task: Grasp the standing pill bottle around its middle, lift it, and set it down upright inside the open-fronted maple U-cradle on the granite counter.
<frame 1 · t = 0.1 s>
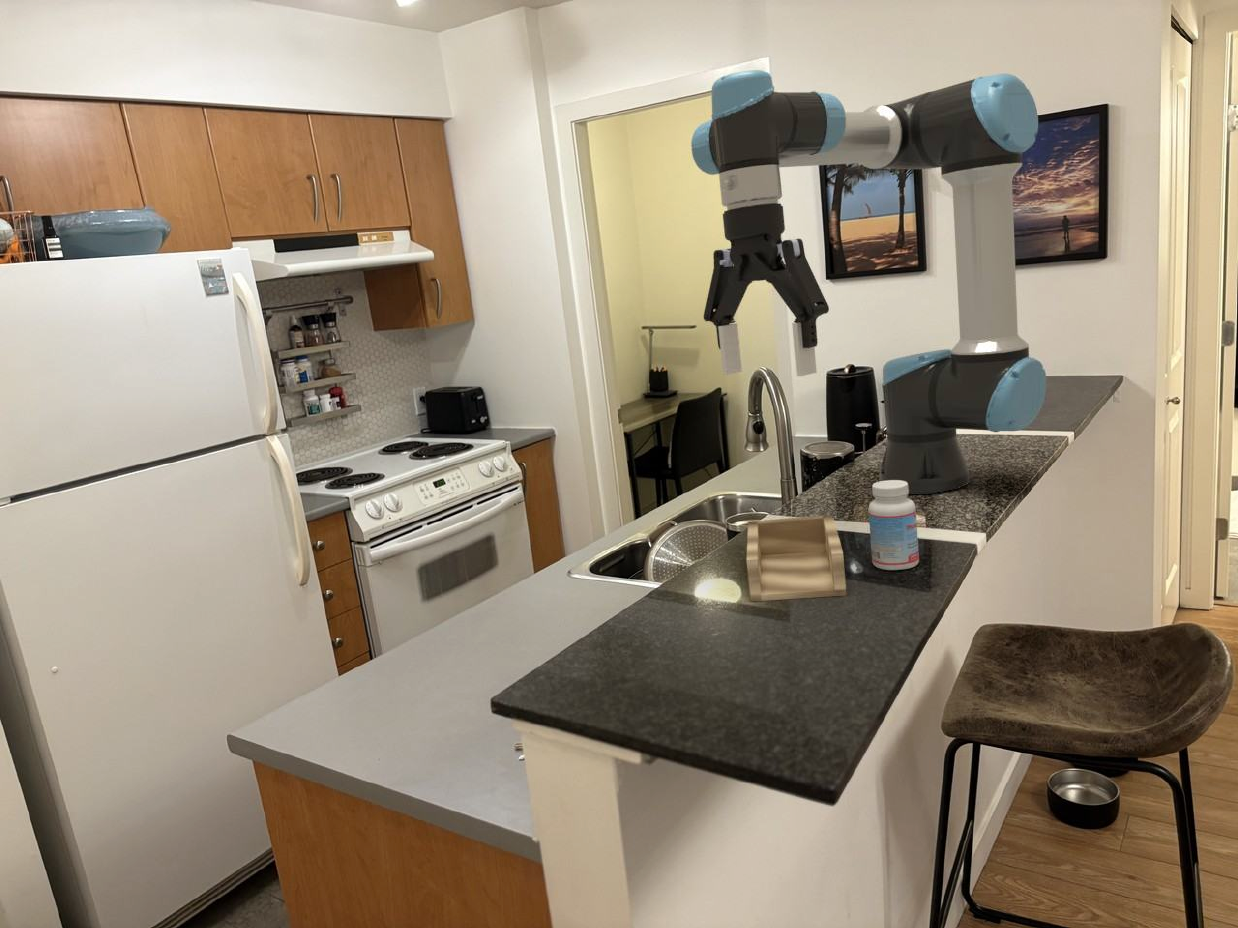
hand: (767, 374, 119), 28 cm above the countertop, fingers open, 13 cm apart
cradle: (796, 579, 124), on the countertop
pill bottle: (895, 565, 125), on the countertop
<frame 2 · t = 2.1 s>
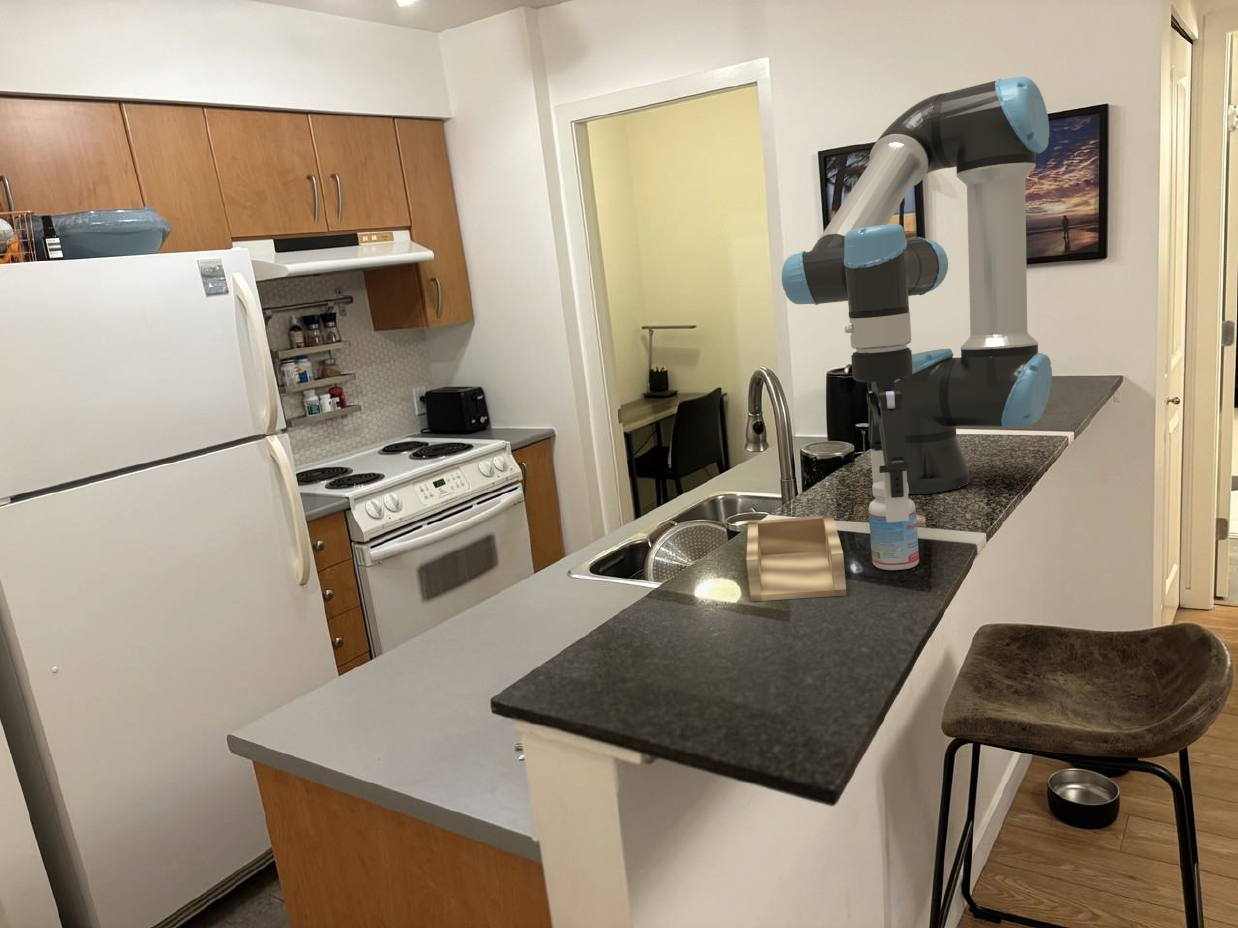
hand: (890, 507, 123), 8 cm above the countertop, fingers open, 13 cm apart
nothing on the countertop moved.
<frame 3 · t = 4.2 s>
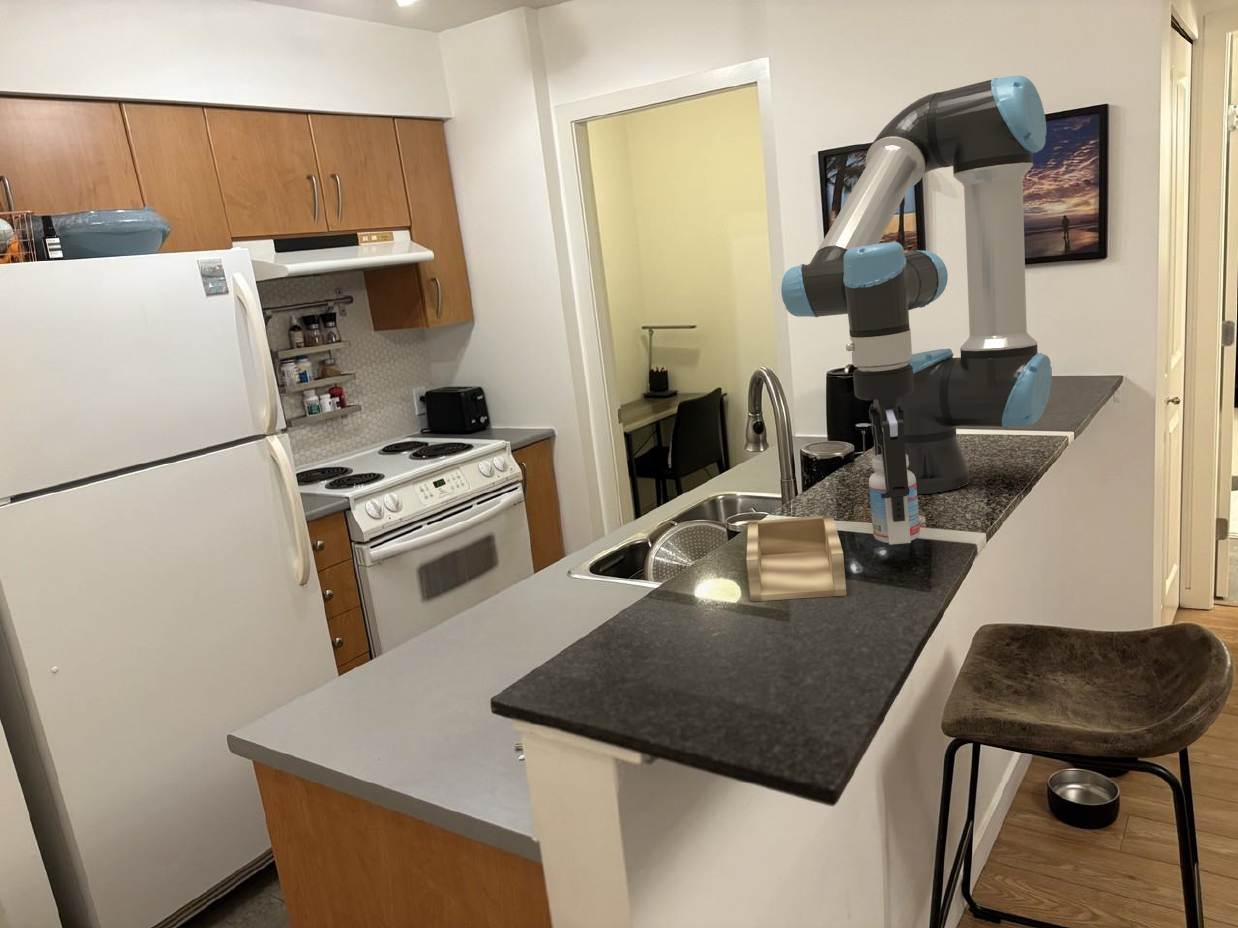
hand: (895, 534, 125), 4 cm above the countertop, fingers closed on pill bottle, 6 cm apart
pill bottle: (897, 538, 125), point 3 cm above the countertop, touching gripper
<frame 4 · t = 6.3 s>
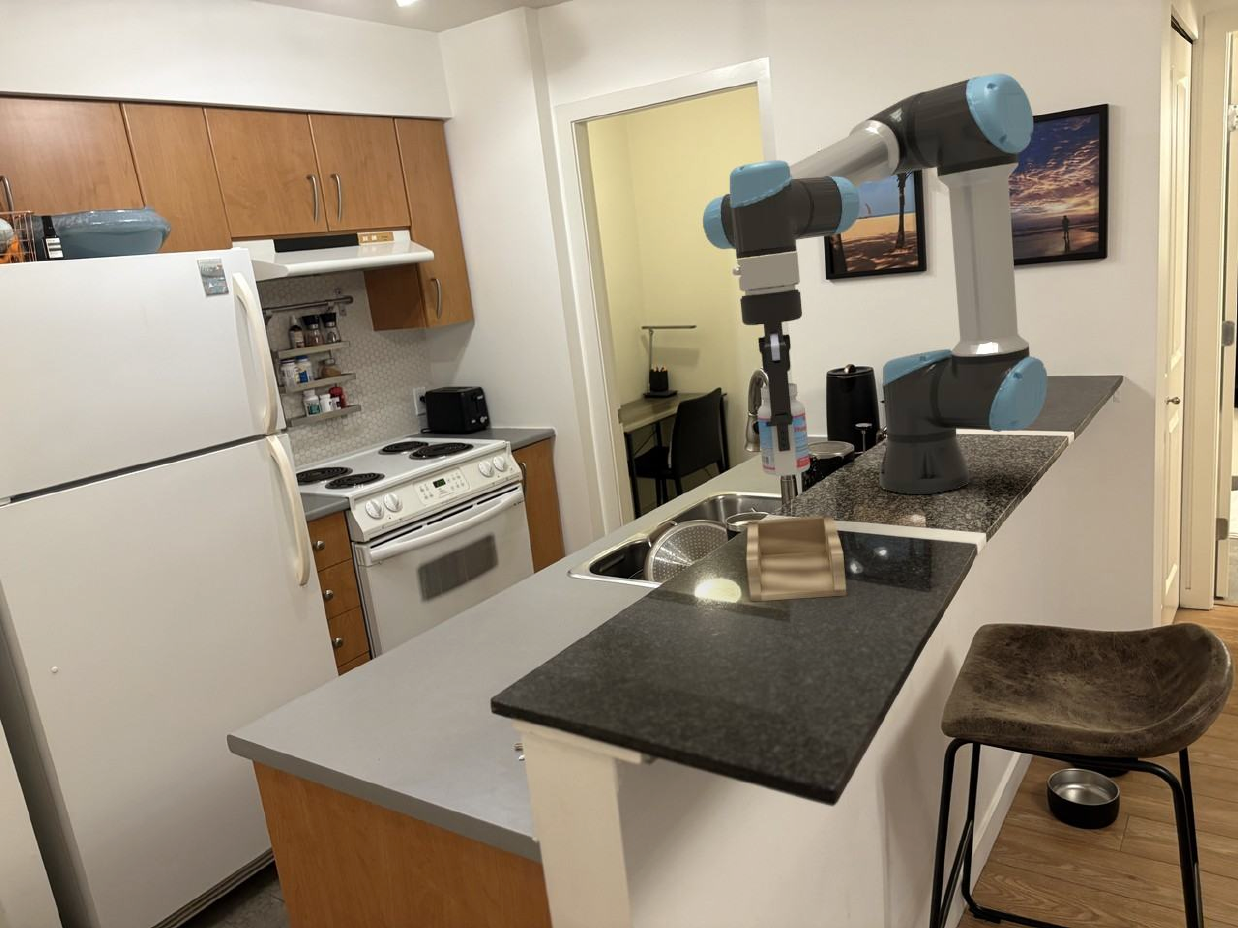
hand: (785, 468, 121), 15 cm above the countertop, fingers closed on pill bottle, 6 cm apart
pill bottle: (786, 472, 121), point 15 cm above the countertop, touching gripper
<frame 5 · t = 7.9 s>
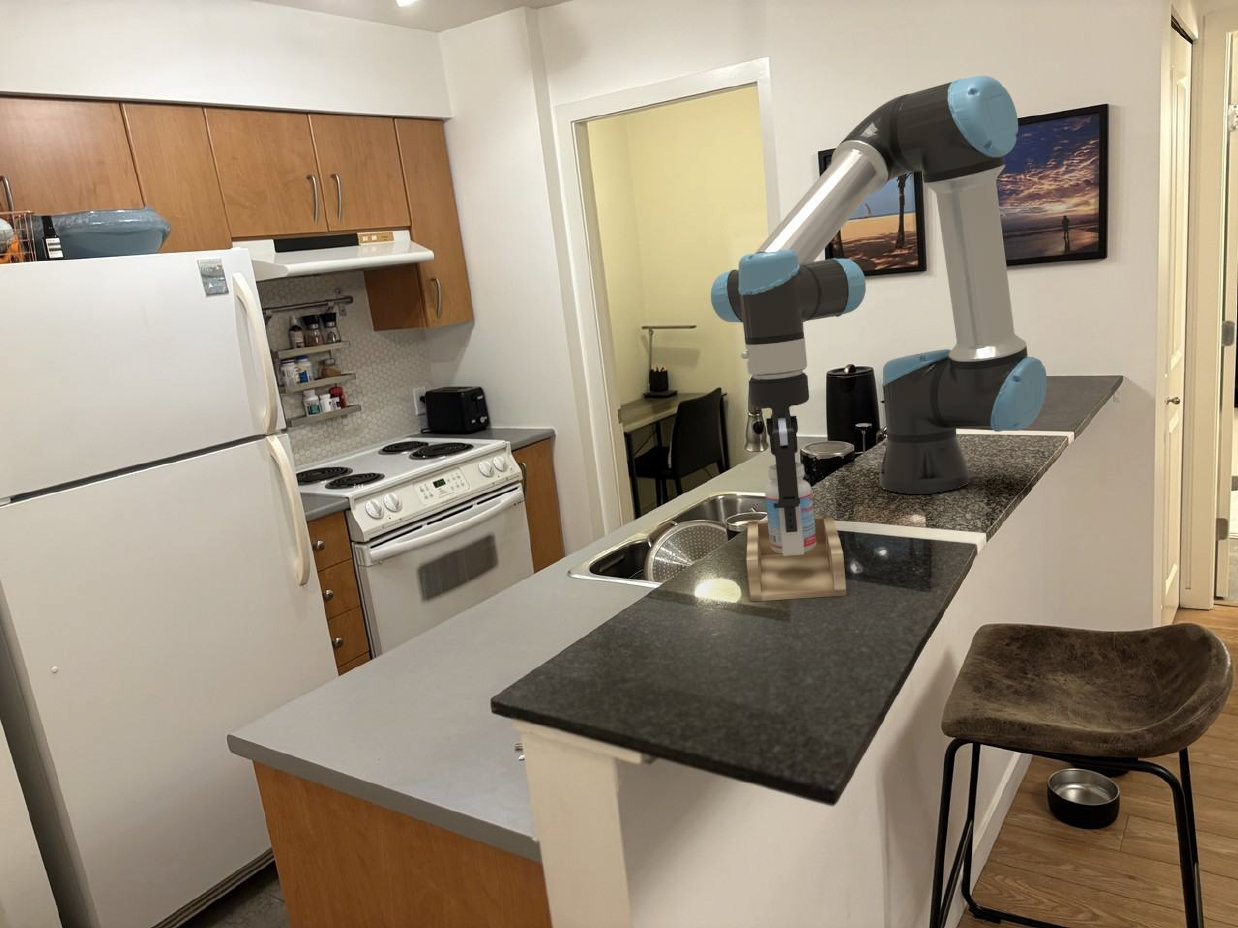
hand: (792, 545, 123), 5 cm above the countertop, fingers closed on pill bottle, 6 cm apart
pill bottle: (793, 549, 123), point 4 cm above the countertop, touching gripper
when the fingers open (2 cm above the countertop, at t = 8.8 s): pill bottle drops 1 cm, resting on cradle.
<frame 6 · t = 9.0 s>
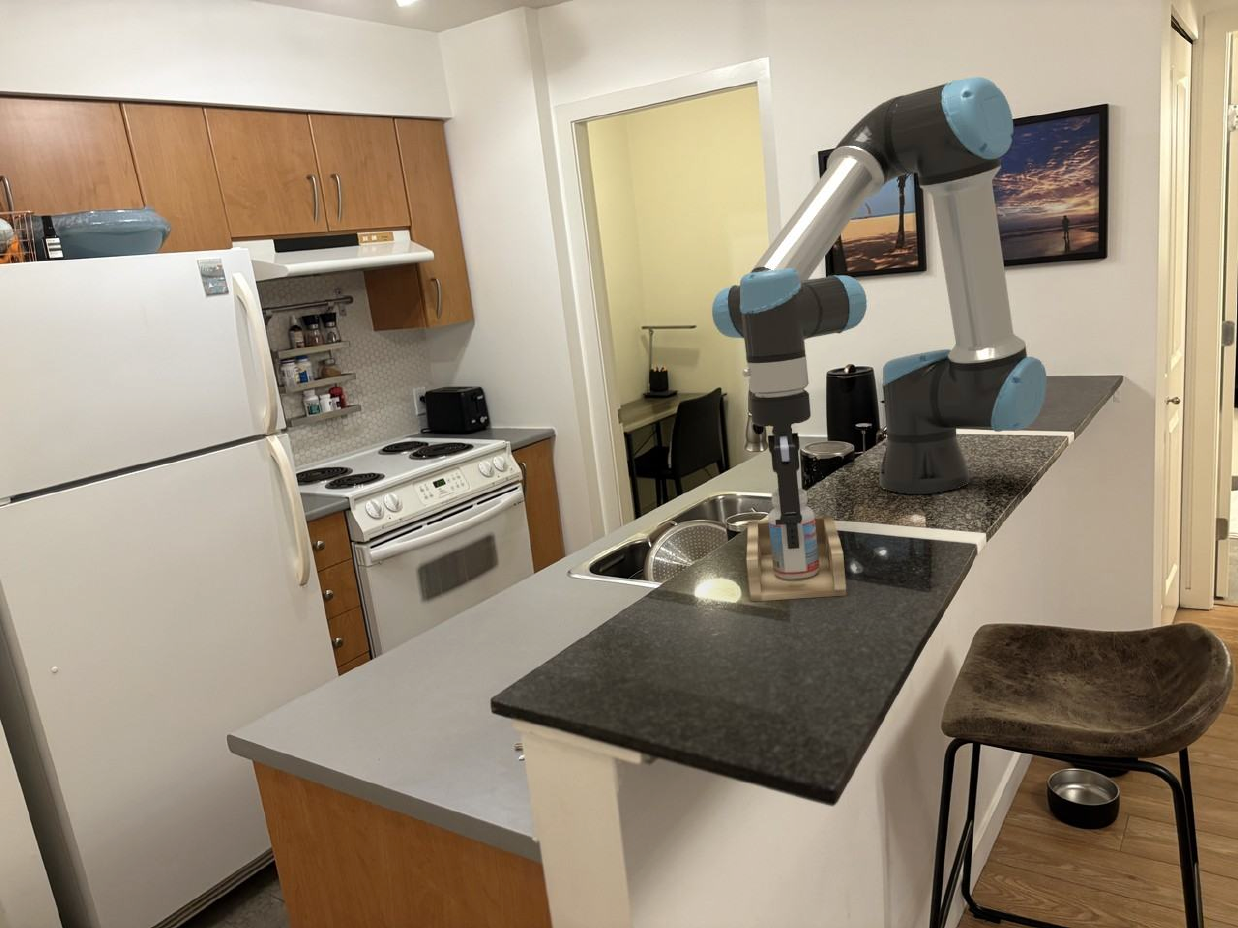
hand: (794, 559, 123), 3 cm above the countertop, fingers open, 8 cm apart
pill bottle: (796, 574, 124), point 1 cm above the countertop, touching cradle
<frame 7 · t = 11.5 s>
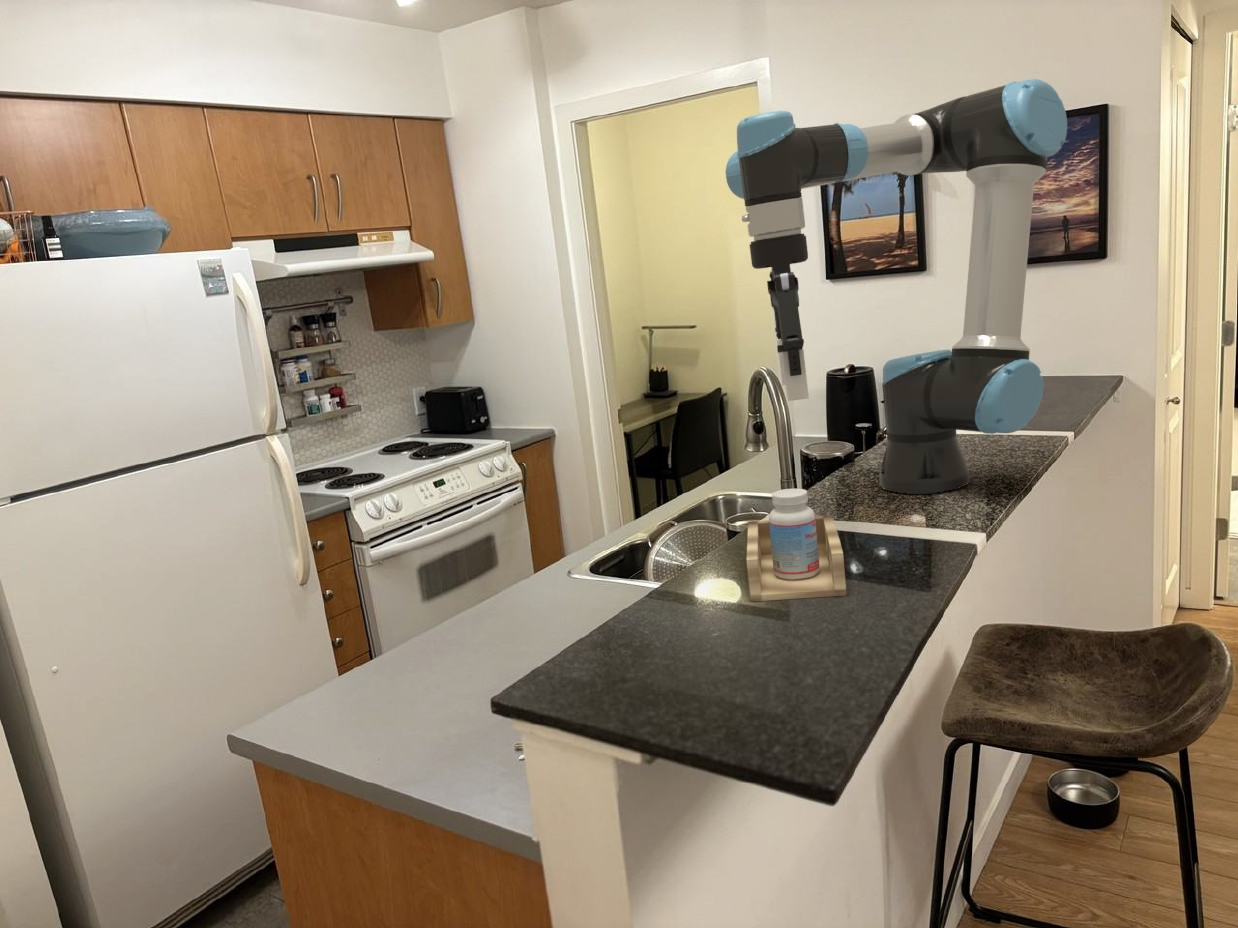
hand: (794, 391, 128), 24 cm above the countertop, fingers open, 13 cm apart
nothing on the countertop moved.
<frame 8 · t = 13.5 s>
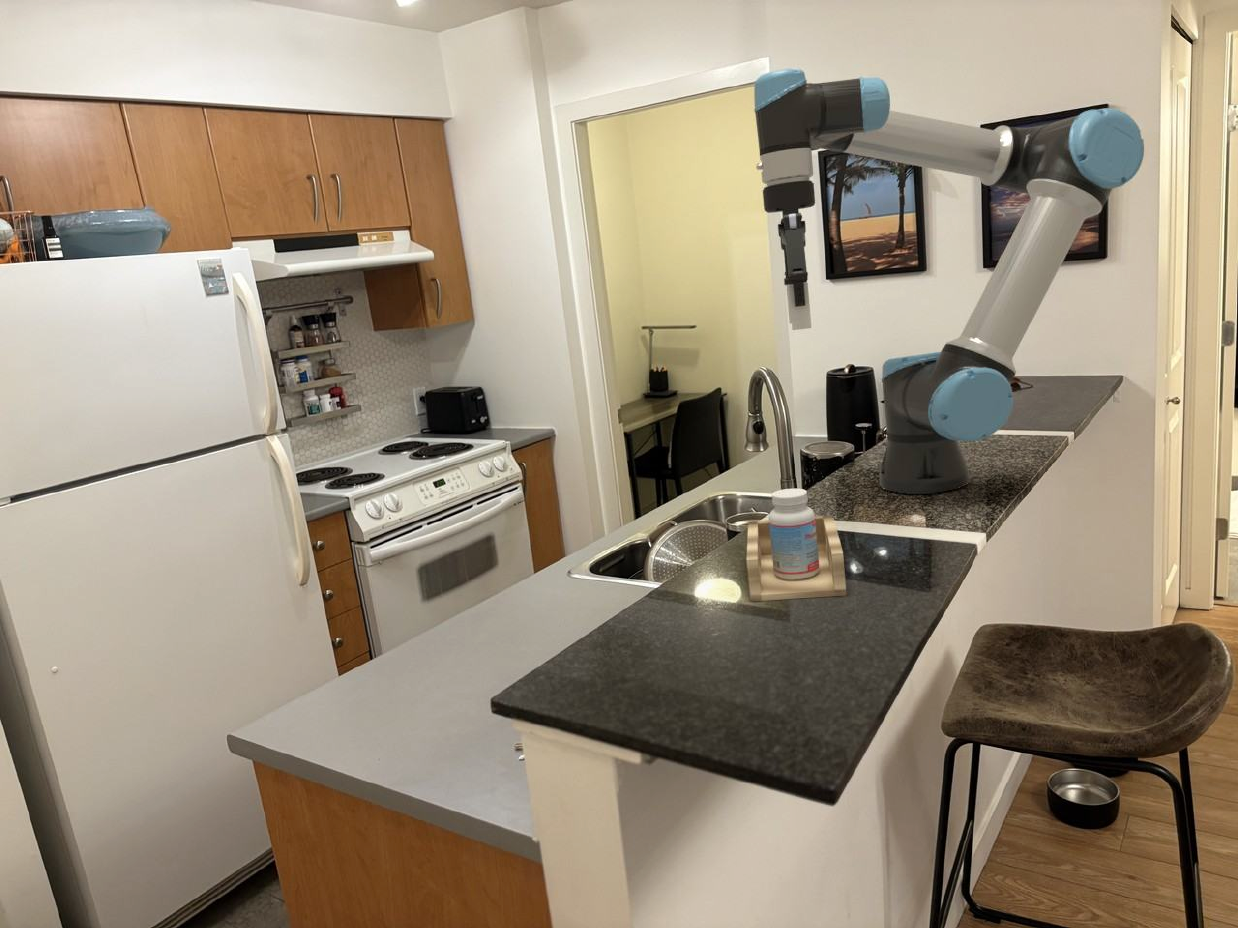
hand: (800, 326, 141), 32 cm above the countertop, fingers open, 13 cm apart
nothing on the countertop moved.
at the end: pill bottle 0.3 cm from the cradle (horizontally); pill bottle tilted 0°; the gripper is holding nothing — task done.
